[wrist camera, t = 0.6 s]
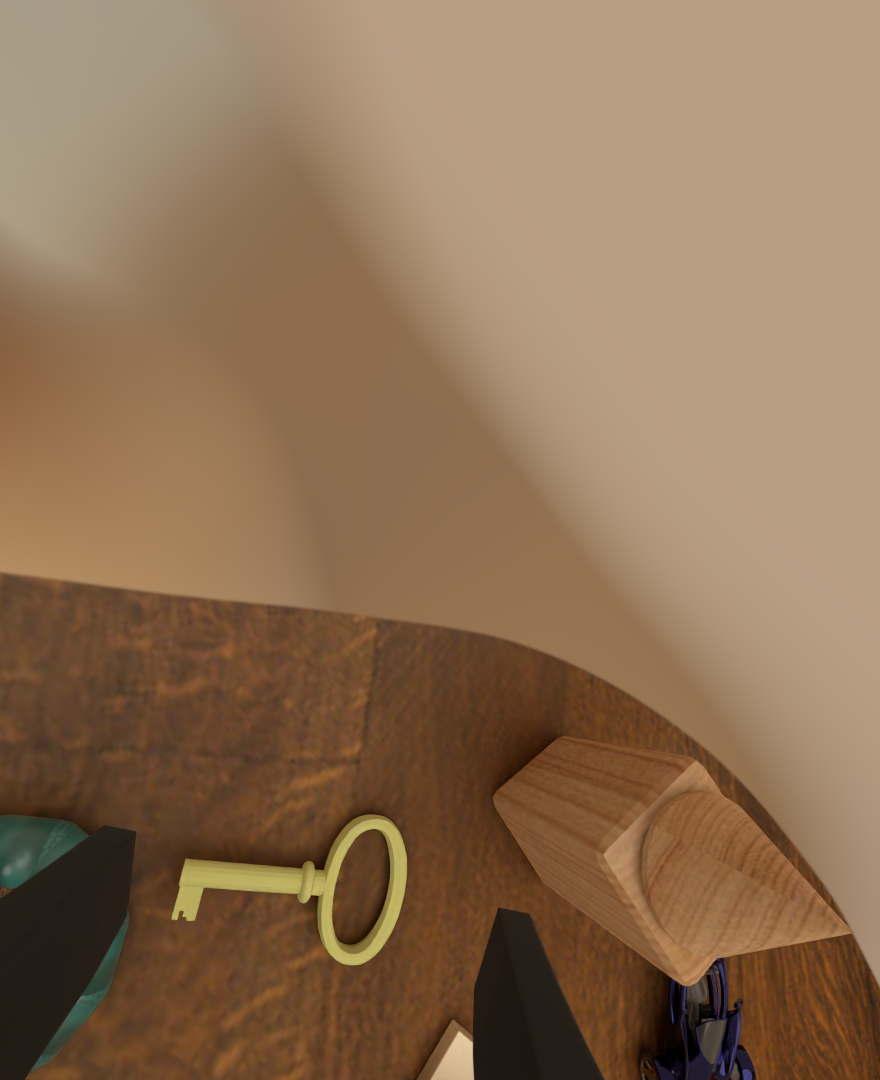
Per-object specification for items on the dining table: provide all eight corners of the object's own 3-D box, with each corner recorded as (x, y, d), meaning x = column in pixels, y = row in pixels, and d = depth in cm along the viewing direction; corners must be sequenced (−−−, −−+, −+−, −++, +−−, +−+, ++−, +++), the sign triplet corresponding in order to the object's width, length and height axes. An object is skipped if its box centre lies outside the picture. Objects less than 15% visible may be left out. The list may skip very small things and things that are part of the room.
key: (174, 853, 29) (167, 865, 27) (399, 805, 33) (407, 812, 31) (179, 1008, 28) (171, 1033, 26) (414, 939, 32) (423, 956, 30)
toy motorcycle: (729, 1092, 34) (782, 1140, 30) (638, 1106, 32) (683, 1158, 29) (712, 873, 37) (759, 893, 34) (629, 876, 36) (668, 897, 32)
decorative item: (616, 816, 37) (965, 950, 18) (544, 888, 34) (859, 1128, 16) (560, 730, 37) (844, 773, 18) (484, 795, 35) (723, 920, 16)
